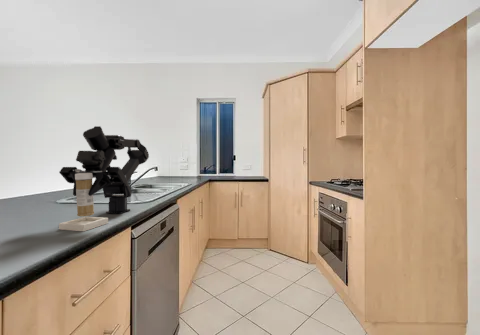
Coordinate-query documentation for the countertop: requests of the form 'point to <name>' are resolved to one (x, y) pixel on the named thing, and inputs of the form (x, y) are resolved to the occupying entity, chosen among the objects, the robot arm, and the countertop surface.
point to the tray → (83, 223)
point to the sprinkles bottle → (84, 194)
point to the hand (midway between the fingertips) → (81, 195)
